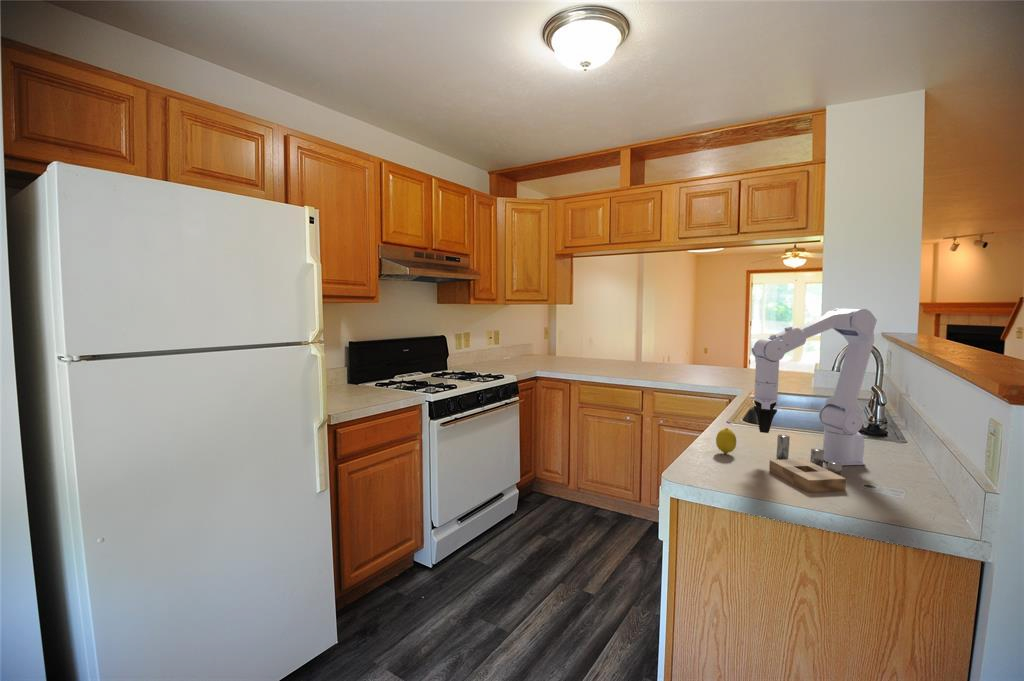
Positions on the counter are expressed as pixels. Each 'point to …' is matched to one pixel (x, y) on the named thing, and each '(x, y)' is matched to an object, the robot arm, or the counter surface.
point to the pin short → (835, 467)
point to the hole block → (808, 475)
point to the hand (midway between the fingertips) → (764, 428)
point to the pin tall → (782, 447)
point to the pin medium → (817, 456)
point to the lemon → (726, 440)
